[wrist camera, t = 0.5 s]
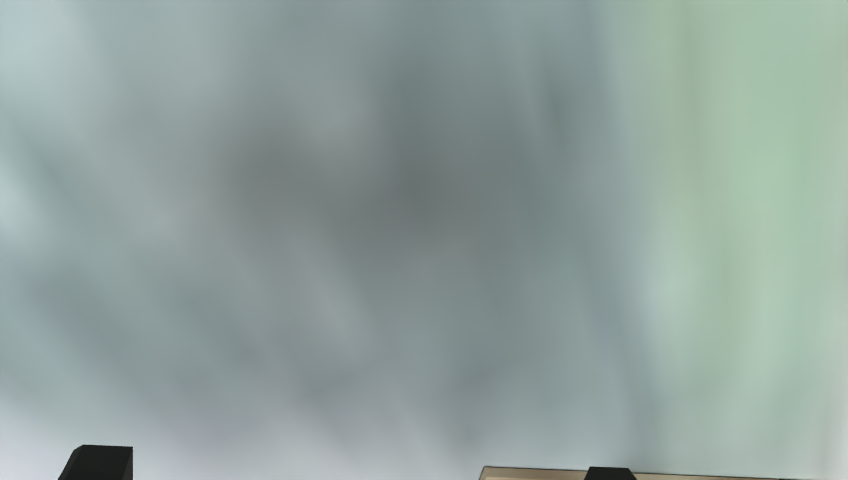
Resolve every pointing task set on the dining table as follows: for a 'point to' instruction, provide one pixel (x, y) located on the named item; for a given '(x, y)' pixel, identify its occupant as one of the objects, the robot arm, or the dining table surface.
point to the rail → (578, 475)
